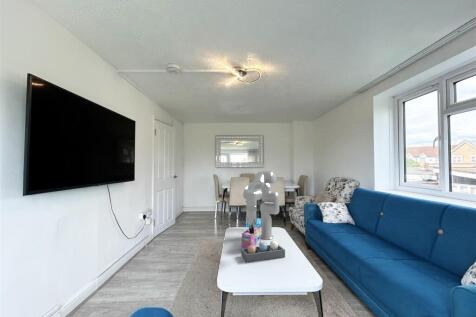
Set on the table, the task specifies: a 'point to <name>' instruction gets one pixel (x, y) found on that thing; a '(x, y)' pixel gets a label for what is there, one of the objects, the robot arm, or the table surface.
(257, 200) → the geometric lantern
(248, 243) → the gum box
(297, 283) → the table surface
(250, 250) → the peach rounded egg shape
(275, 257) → the gray compartment tray
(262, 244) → the pale blue rounded piece
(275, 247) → the white rounded piece
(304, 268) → the table surface
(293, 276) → the table surface
